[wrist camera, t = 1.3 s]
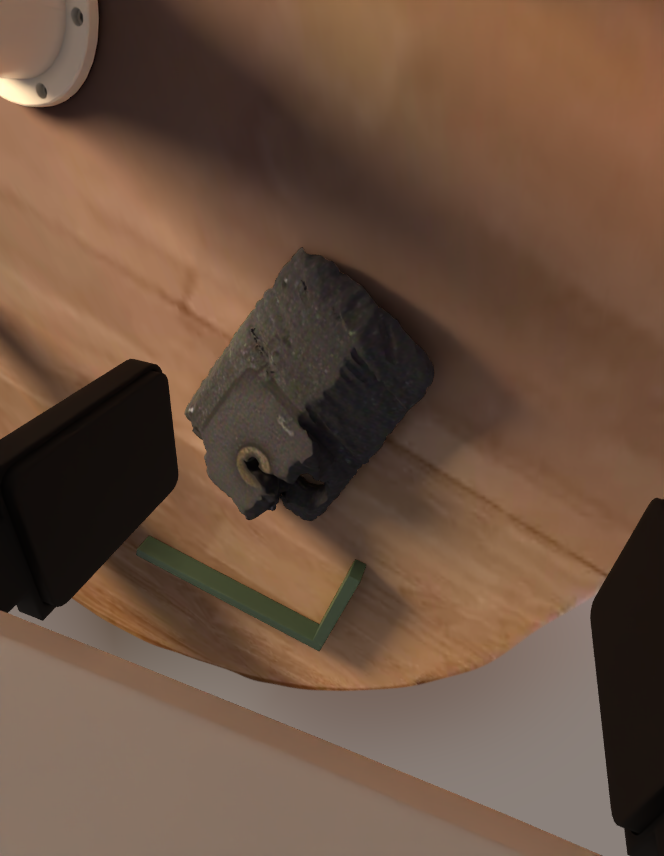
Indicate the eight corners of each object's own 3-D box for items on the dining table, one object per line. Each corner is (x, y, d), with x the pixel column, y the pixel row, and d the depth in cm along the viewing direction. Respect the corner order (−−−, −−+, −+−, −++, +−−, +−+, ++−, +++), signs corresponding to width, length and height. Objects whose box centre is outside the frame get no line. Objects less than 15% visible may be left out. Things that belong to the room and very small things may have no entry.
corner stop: (148, 541, 58) (135, 555, 56) (159, 459, 50) (145, 472, 48) (326, 634, 56) (319, 651, 54) (366, 564, 48) (360, 581, 46)
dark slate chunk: (475, 376, 35) (468, 409, 31) (305, 524, 48) (285, 560, 44) (305, 224, 33) (276, 239, 30) (177, 419, 46) (145, 447, 43)
